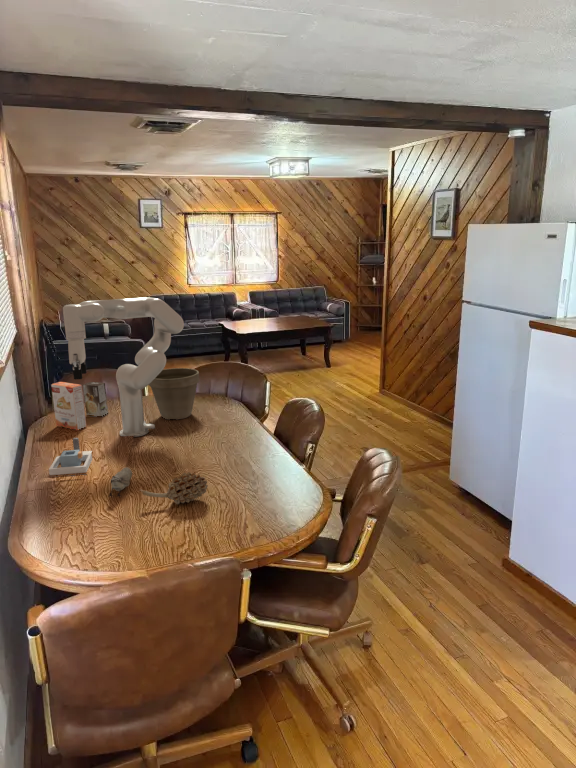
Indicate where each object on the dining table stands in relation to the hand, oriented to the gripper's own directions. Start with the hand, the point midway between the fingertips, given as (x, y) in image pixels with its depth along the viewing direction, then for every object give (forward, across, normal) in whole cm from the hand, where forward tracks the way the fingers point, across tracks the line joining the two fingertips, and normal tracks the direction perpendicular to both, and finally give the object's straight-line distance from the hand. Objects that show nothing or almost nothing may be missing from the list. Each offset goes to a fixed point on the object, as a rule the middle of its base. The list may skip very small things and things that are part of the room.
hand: (80, 376), depth 232 cm
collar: (+29, +26, -2) cm, 40 cm away
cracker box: (+31, -27, -12) cm, 42 cm away
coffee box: (+31, -45, -3) cm, 54 cm away
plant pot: (+31, -35, +36) cm, 59 cm away
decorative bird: (+31, +48, +19) cm, 60 cm away
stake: (+30, +15, -2) cm, 34 cm away
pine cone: (+31, +63, +38) cm, 80 cm away
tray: (+30, +26, -2) cm, 40 cm away
